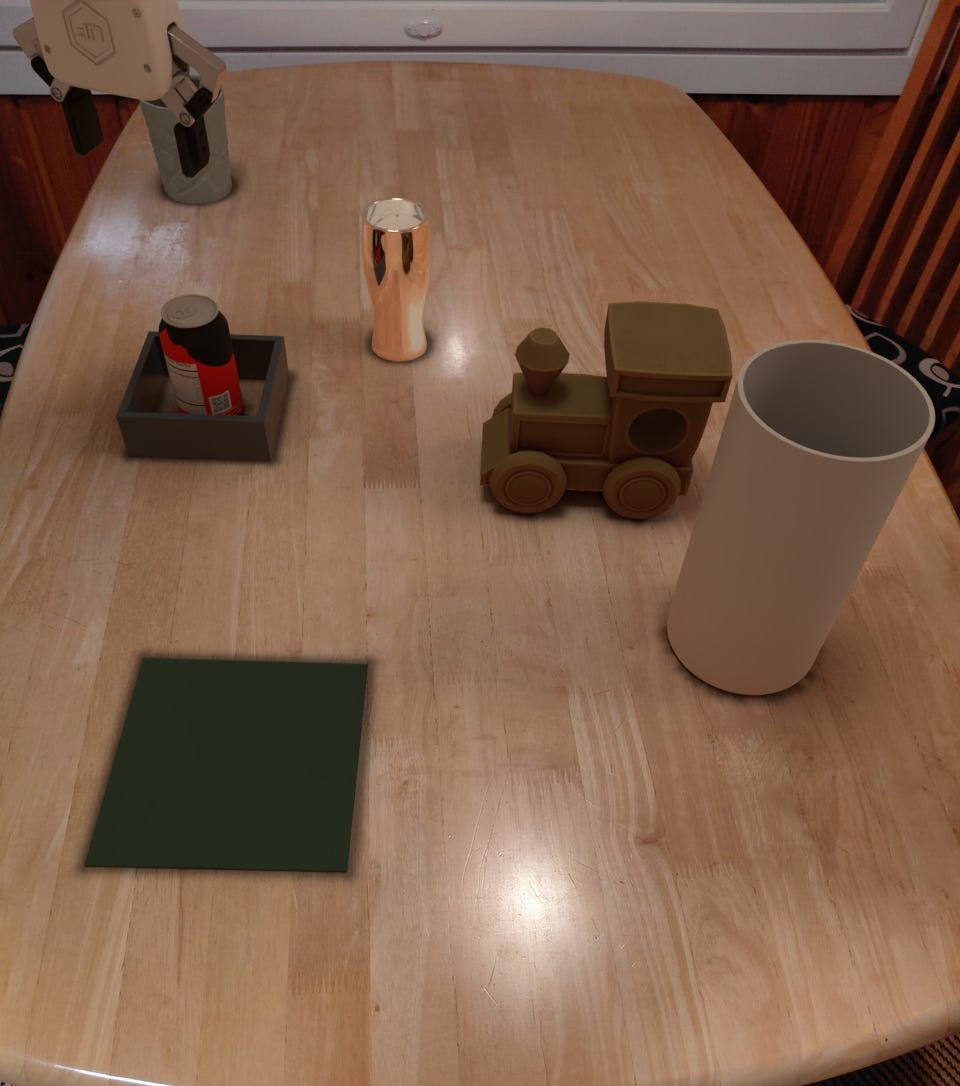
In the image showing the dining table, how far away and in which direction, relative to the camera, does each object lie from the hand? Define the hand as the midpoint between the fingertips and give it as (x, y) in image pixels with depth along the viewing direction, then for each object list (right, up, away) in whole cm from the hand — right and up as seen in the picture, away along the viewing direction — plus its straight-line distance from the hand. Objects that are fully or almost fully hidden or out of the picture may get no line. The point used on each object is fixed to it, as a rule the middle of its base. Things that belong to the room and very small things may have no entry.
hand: (143, 158), depth 78 cm
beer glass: (+19, -7, +27) cm, 34 cm away
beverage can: (0, -17, +19) cm, 25 cm away
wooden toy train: (+37, -24, +15) cm, 47 cm away
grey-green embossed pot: (-9, +20, +47) cm, 52 cm away
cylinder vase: (+49, -39, +3) cm, 63 cm away
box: (0, -17, +19) cm, 25 cm away
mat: (+9, -48, -6) cm, 49 cm away
